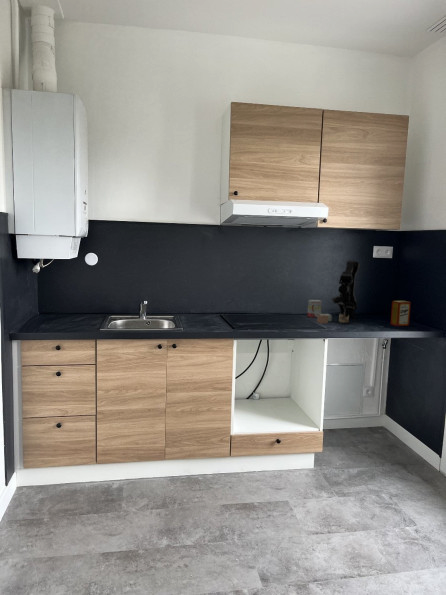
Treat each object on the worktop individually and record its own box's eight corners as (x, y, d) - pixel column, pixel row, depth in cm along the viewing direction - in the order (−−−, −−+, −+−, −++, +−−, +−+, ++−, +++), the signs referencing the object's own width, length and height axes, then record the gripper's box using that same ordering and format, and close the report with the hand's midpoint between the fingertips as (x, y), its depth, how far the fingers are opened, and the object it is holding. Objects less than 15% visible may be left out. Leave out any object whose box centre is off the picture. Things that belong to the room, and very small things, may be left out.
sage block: (328, 319, 311) (329, 313, 311) (331, 321, 305) (331, 315, 304) (318, 319, 311) (318, 313, 311) (321, 321, 304) (321, 315, 304)
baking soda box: (397, 326, 292) (399, 301, 290) (390, 324, 298) (392, 300, 297) (409, 325, 296) (410, 301, 294) (401, 323, 302) (403, 300, 300)
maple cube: (346, 321, 305) (346, 314, 305) (348, 322, 300) (349, 315, 300) (338, 321, 305) (339, 313, 304) (341, 322, 300) (341, 315, 299)
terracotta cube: (323, 322, 300) (324, 314, 299) (327, 323, 295) (328, 315, 295) (316, 322, 298) (317, 314, 298) (320, 323, 294) (321, 316, 293)
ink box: (310, 317, 317) (310, 300, 316) (307, 316, 322) (308, 299, 320) (321, 317, 319) (322, 300, 318) (318, 316, 324) (319, 299, 322)
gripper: (329, 290, 309) (328, 313, 311) (338, 293, 291) (336, 317, 292) (345, 291, 310) (343, 313, 312) (354, 294, 291) (353, 318, 293)
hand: (344, 315), depth 302 cm, fingers open, 9 cm apart
